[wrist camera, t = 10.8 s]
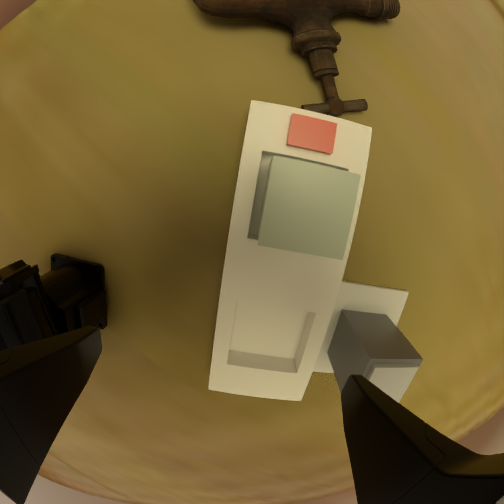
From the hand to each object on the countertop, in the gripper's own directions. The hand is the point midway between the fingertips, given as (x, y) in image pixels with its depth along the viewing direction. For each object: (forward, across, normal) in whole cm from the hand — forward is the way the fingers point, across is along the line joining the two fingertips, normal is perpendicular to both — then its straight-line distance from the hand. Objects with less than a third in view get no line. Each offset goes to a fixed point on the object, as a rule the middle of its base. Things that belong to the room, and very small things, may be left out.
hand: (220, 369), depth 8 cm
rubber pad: (+13, -11, +5) cm, 18 cm away
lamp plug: (+12, -3, -5) cm, 13 cm away
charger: (+12, -11, +5) cm, 17 cm away
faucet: (+13, -2, -19) cm, 23 cm away
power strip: (+13, -3, 0) cm, 13 cm away
